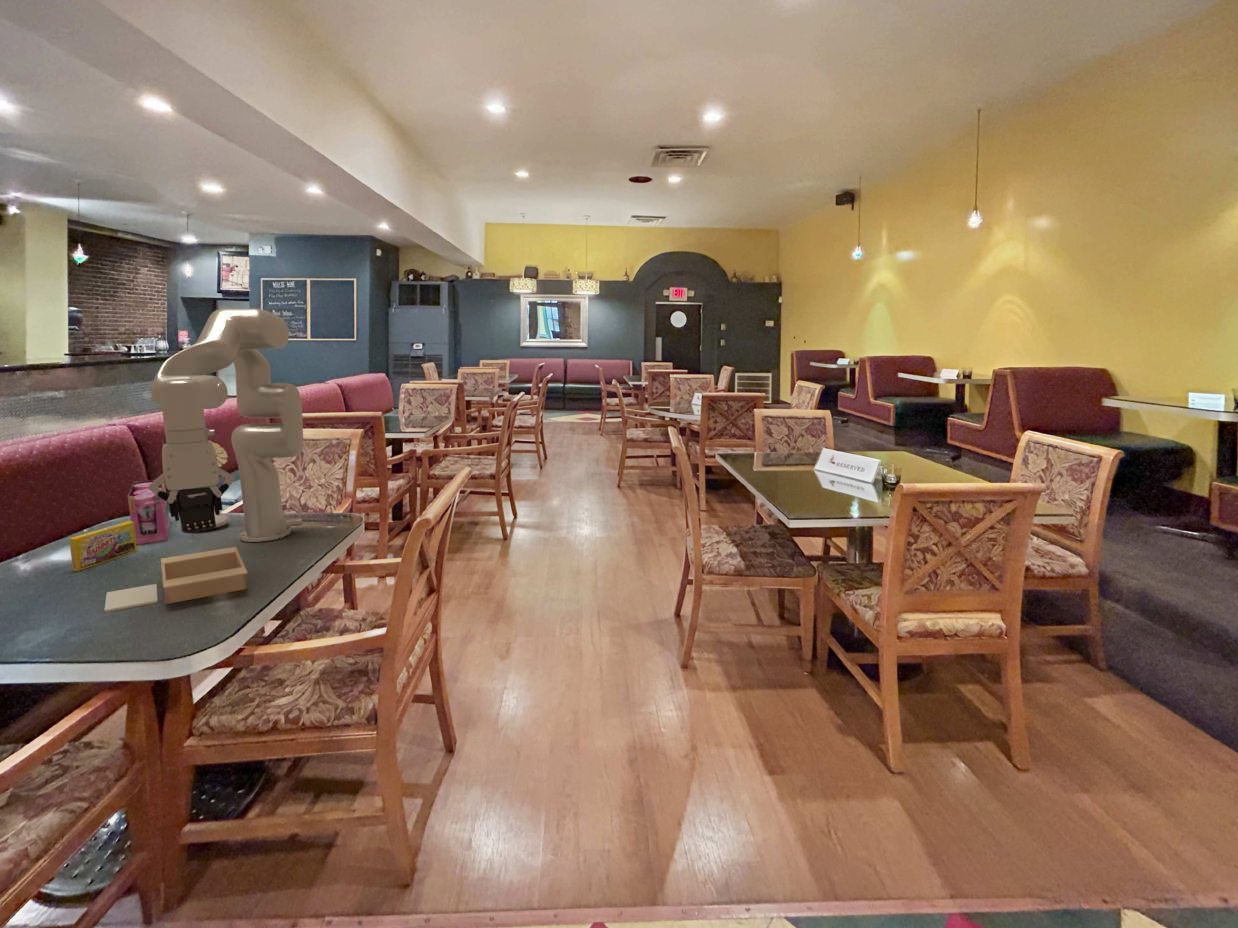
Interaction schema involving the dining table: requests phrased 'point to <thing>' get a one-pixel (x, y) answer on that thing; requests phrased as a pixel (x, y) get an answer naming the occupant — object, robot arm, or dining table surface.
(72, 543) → the candy box
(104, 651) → the dining table surface
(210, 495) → the battery charger
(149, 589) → the mat
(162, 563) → the carton
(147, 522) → the gum box
